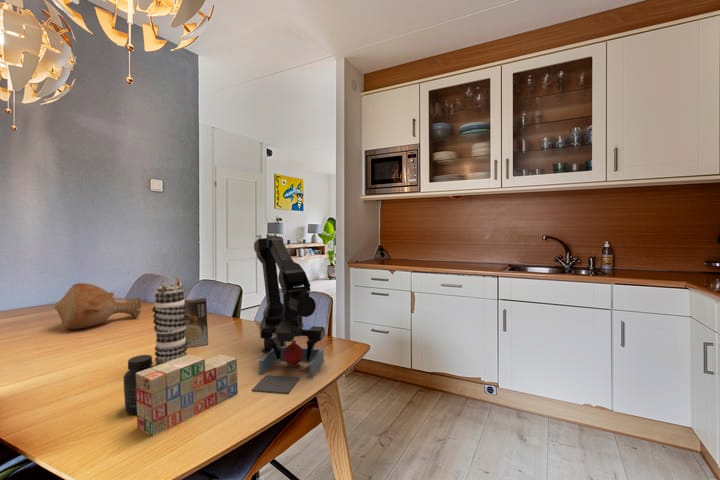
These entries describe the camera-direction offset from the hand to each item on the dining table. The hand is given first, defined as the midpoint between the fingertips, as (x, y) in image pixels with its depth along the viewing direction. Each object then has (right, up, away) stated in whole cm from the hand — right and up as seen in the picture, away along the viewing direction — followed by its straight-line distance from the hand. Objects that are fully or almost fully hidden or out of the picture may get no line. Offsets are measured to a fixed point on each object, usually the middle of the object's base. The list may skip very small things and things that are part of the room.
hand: (293, 360), depth 106 cm
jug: (-92, 0, +45) cm, 103 cm away
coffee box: (-40, -1, +20) cm, 45 cm away
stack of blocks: (-19, -4, -24) cm, 31 cm away
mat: (-2, -3, -12) cm, 12 cm away
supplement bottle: (-31, -3, -23) cm, 39 cm away
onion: (0, -2, 0) cm, 2 cm away
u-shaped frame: (0, -2, -1) cm, 2 cm away
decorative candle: (-37, -2, 0) cm, 37 cm away
